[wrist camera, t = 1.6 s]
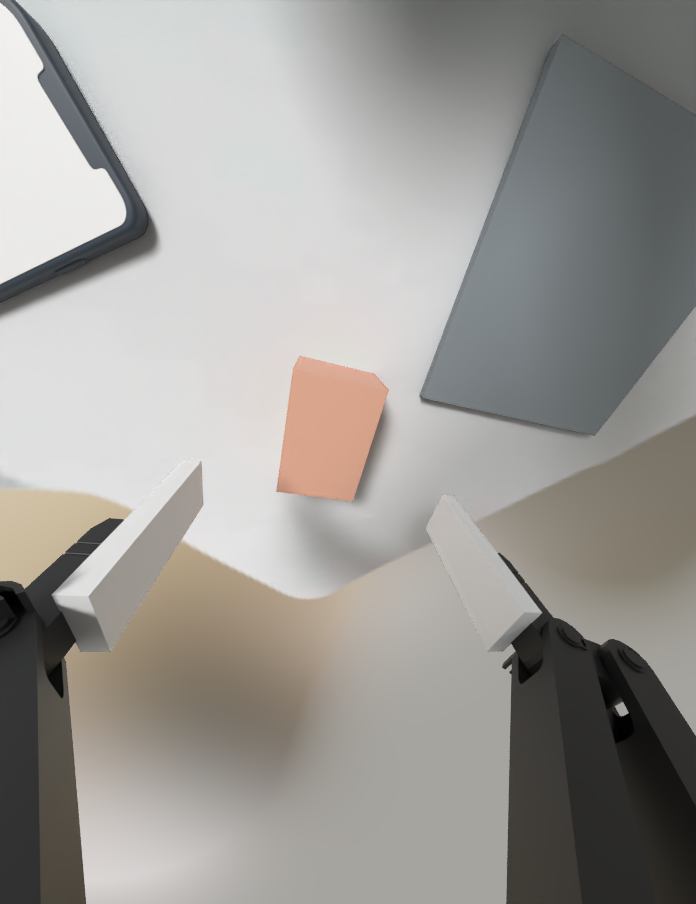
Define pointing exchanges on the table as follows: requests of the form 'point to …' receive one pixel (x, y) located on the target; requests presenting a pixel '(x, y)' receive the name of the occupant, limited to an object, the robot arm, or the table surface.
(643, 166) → the mat
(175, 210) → the table surface
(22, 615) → the robot arm
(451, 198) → the table surface
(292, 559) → the table surface
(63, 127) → the smartphone
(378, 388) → the card box
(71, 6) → the table surface
